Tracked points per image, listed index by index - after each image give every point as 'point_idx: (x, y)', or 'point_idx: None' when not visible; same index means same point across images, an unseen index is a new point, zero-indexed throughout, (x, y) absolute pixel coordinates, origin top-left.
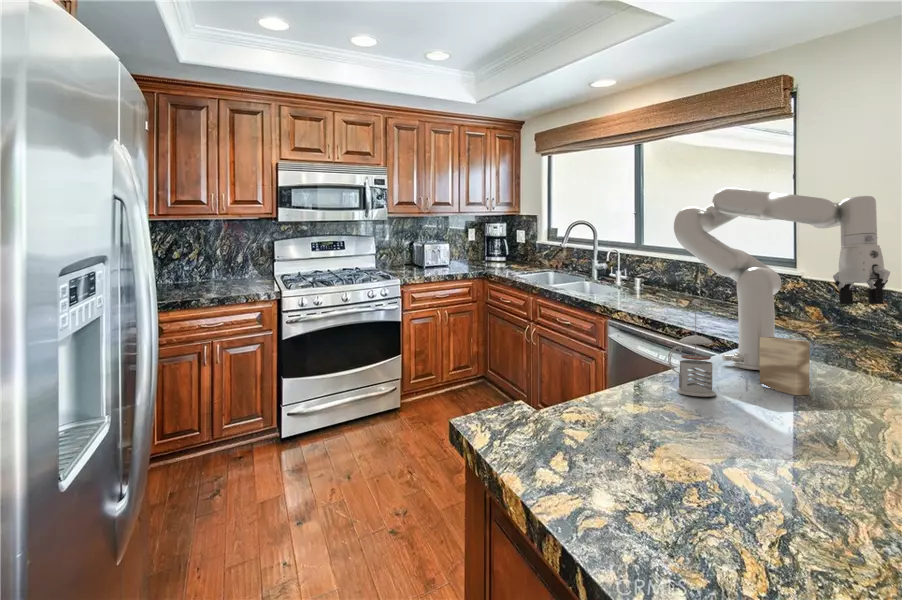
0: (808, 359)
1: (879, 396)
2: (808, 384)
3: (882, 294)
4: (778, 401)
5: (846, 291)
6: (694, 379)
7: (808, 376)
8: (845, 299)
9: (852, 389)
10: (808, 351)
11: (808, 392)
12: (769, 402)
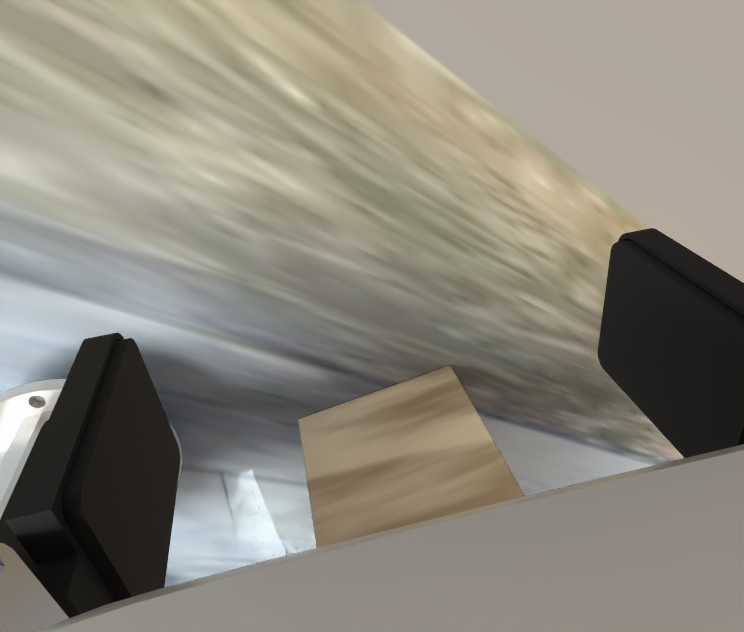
0: (500, 454)
1: (458, 141)
2: (462, 389)
3: (739, 285)
4: (540, 461)
5: (134, 566)
6: None
7: (473, 407)
8: (162, 461)
9: (313, 161)
10: (514, 479)
11: (453, 372)
12: (551, 480)
